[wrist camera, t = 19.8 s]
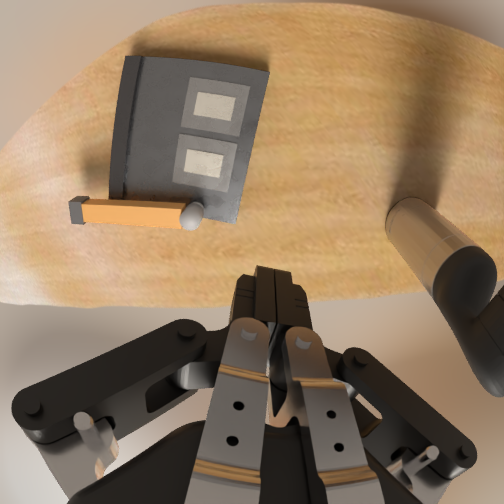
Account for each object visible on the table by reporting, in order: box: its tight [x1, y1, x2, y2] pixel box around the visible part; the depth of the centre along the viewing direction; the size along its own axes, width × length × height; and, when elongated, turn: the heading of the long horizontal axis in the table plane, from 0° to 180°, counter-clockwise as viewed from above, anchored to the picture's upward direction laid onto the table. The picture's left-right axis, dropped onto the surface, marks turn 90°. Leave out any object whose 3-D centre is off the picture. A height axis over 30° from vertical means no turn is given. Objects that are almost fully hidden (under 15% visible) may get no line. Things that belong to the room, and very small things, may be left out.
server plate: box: [109, 56, 270, 224], centre depth 38 cm, size 20×22×4 cm
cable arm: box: [69, 196, 204, 230], centre depth 40 cm, size 4×21×3 cm, turn 85°
